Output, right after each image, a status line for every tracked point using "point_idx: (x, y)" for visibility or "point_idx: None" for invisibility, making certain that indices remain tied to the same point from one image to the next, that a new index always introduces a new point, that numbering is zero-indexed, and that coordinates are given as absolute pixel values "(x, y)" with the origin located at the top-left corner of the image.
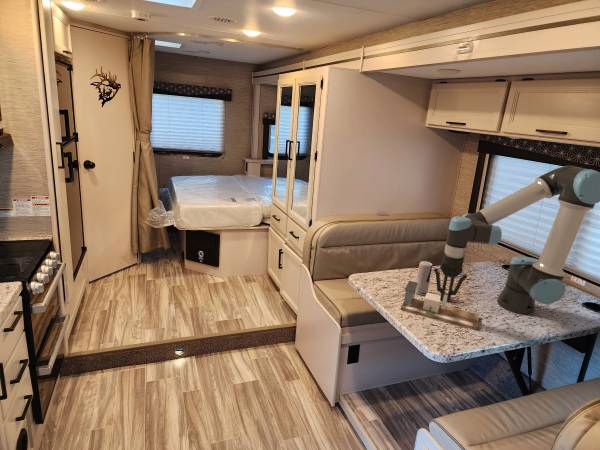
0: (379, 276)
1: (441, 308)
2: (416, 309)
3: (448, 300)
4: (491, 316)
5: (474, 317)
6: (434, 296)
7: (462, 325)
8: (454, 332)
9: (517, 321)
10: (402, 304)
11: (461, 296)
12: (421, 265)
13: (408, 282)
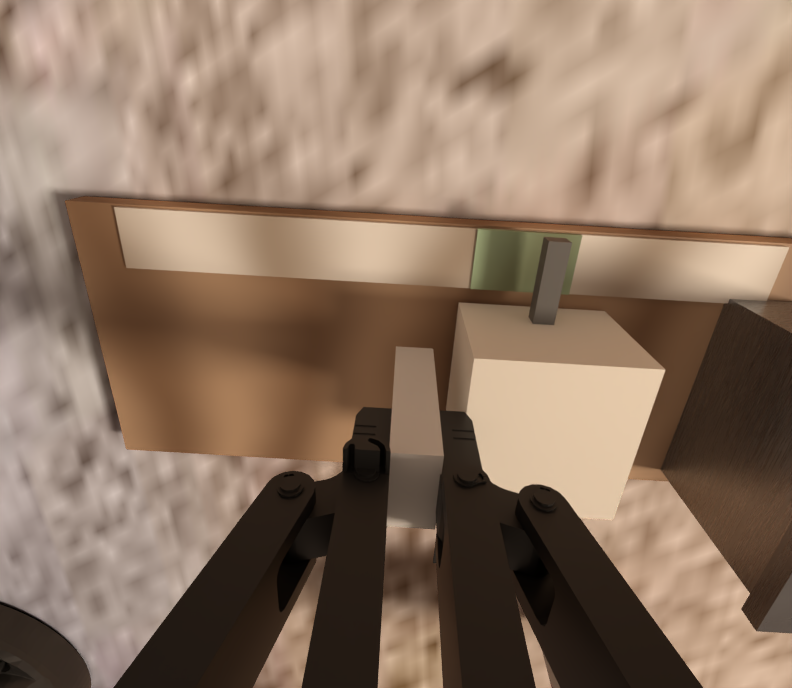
0: None
1: (430, 350)
2: (671, 272)
3: (371, 421)
4: (61, 486)
5: (143, 386)
6: (532, 466)
7: (215, 207)
8: (268, 16)
9: None
10: None
11: (297, 646)
12: None
13: None
